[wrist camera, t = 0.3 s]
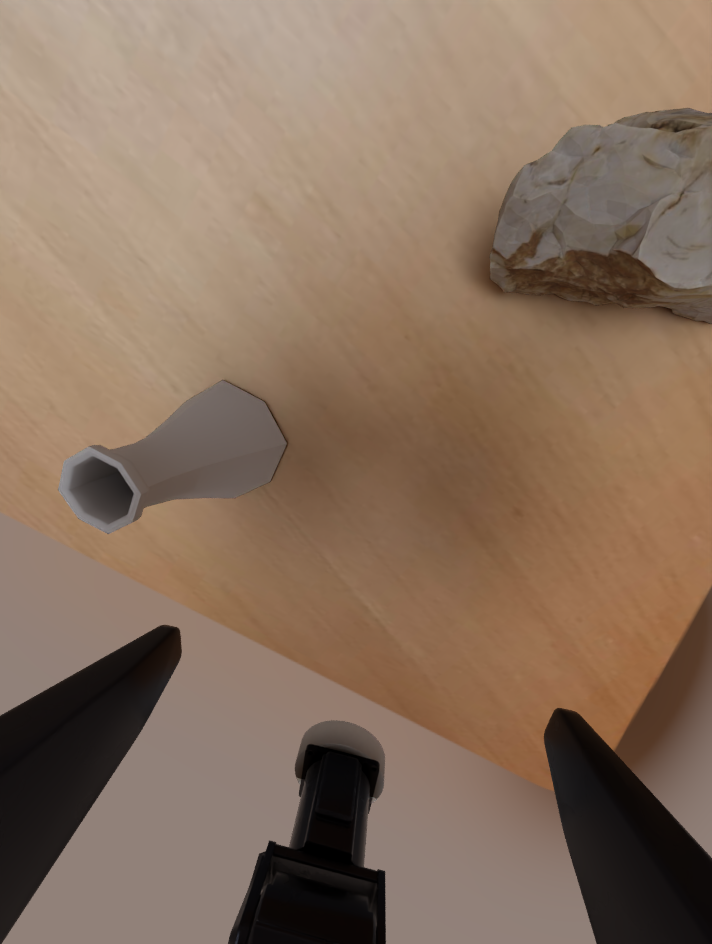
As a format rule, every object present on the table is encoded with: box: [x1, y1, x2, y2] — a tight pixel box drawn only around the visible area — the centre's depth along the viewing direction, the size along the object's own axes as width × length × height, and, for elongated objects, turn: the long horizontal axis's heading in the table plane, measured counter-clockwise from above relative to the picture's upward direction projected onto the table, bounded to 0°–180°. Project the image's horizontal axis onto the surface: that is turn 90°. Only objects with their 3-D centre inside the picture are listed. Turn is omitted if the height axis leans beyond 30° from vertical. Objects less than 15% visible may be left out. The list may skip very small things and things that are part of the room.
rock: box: [490, 108, 712, 324], centre depth 13 cm, size 12×7×10 cm, turn 78°
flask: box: [58, 380, 287, 534], centre depth 17 cm, size 7×7×10 cm
